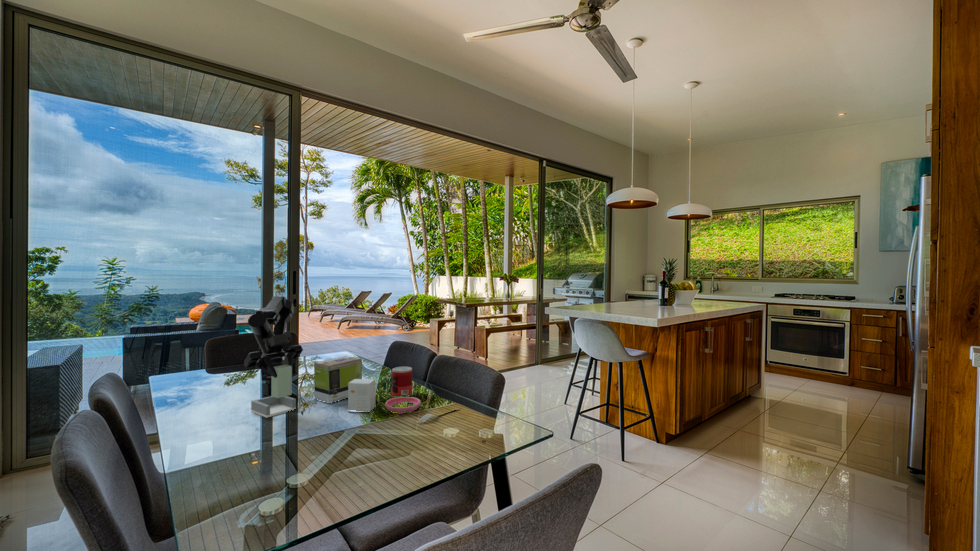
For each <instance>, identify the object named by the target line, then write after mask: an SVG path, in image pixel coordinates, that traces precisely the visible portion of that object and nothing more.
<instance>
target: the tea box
mask: <svg viewBox="0 0 980 551" xmlns="http://www.w3.org/2000/svg"><path fill="white" fill-rule="evenodd" d="M313 366H314V367H313V370H314V374H313V375H314V380H313V381H314V383H313V384H314V400H315V399H318V400H321V401H325V402H328V403H331V402H335V401H338V400H342V399H345V398H348V383H349V382H351V381H352V380H354V379H363V370H362V368H363V367H362V366H363V364H362V358H359V357H354V356H353V357H352V356H348V355H345V356H340V357H335V358H330V359H325V360H321V361H315V362H314V363H313ZM318 400H317V401H318ZM345 400H346V399H345ZM321 401H320V402H321ZM342 401H343V400H342ZM338 402H339V401H338ZM335 403H336V402H335ZM331 404H332V403H331Z"/></svg>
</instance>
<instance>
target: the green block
mask: <svg viewBox="0 0 980 551" xmlns="http://www.w3.org/2000/svg"><path fill="white" fill-rule="evenodd" d="M274 369H275V371H276V373H277V377H276V378H274V377H273V376H271V396H273V397H276V398H280V397H284V396H288V397H289V396H291V395H292V394H293V393H292V392H293V385H292V384H293V381H292V380H293V365H292V366H290V365H286V364H285V365H280V366H274Z"/></svg>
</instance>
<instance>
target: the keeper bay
mask: <svg viewBox="0 0 980 551" xmlns="http://www.w3.org/2000/svg"><path fill="white" fill-rule="evenodd" d="M250 405H251V406H250V408H251V409H250V410H251V411H250V412H251V413H253V414H256V415H259V416H261V417H263V418H270V417H275V416H278V415H282V414H284V413H285V414H286V413H289V412H292V411H295V410H294V409H297V408H296V407H297V399H296V398H294V397H291V396H289V395H288V396H284V397H280V398H276V397H273V396H266V397H263V398H262V397H261V398H258V399H254V400H251V403H250ZM291 410H292V411H291ZM288 411H289V412H288Z"/></svg>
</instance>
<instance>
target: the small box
mask: <svg viewBox="0 0 980 551" xmlns="http://www.w3.org/2000/svg"><path fill="white" fill-rule="evenodd" d="M347 402H348V410H356V411H371V410H372V409H373V408H374V407H375V406H376V379H371V378H370V379H367V378H364V379H363V378H362V379H354V380H352V381H351V382H349V383H348V400H347ZM372 411H373V410H372ZM372 411H371V412H372Z"/></svg>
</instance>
